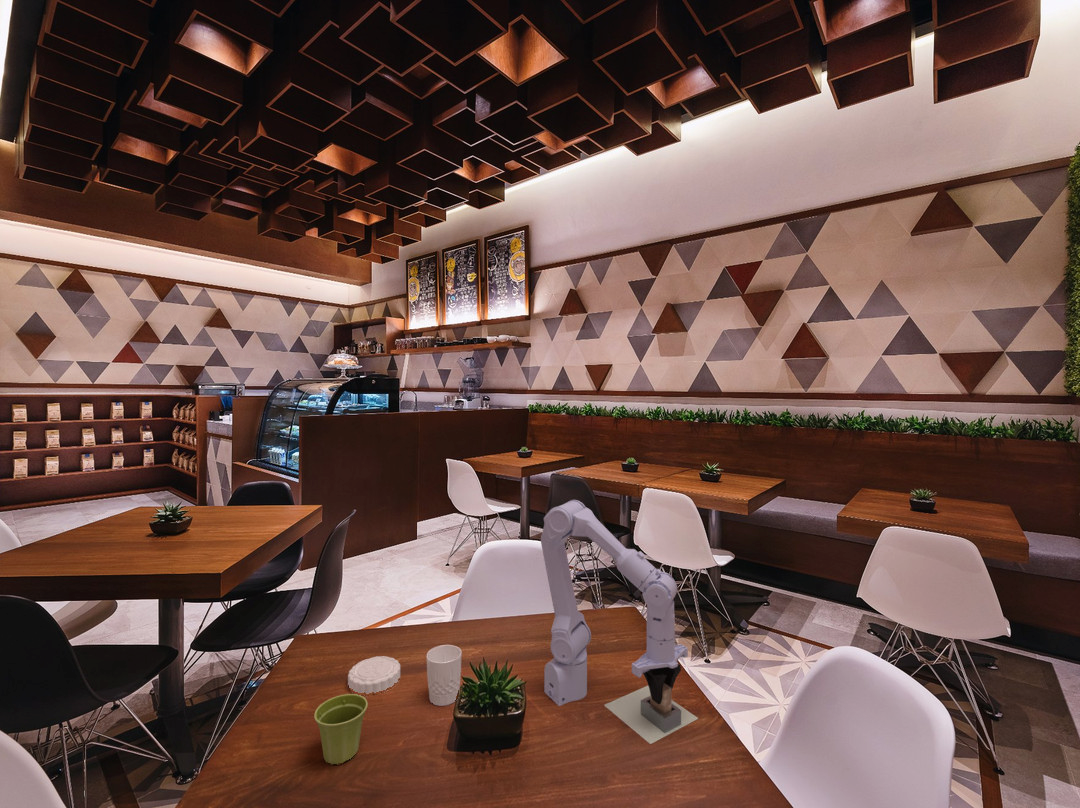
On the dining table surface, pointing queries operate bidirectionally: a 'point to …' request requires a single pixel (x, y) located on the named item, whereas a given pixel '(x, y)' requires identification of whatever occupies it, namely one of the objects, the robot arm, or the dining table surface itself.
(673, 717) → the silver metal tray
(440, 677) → the white cup
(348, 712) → the plant pot
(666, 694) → the wooden block
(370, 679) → the mooncake
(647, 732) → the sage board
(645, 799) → the dining table surface
